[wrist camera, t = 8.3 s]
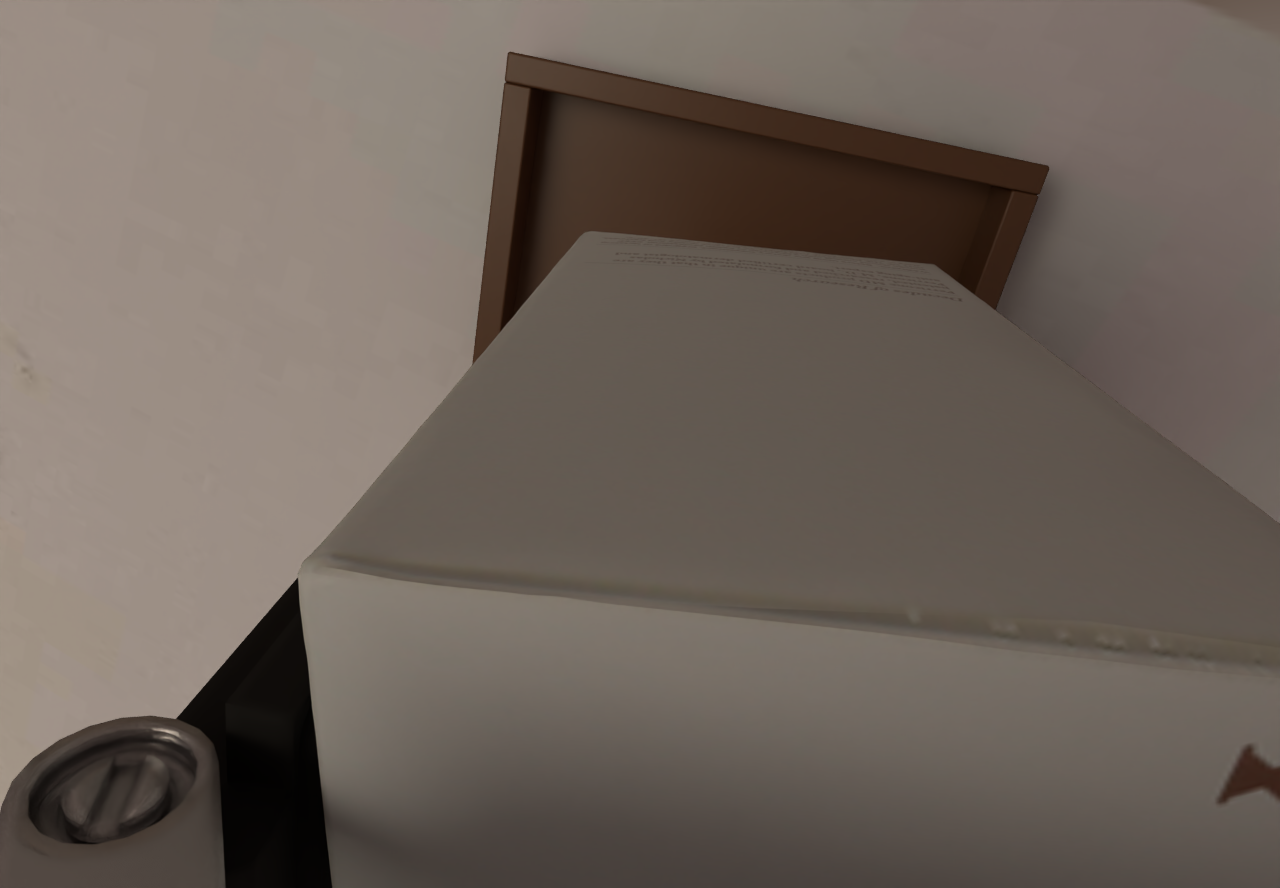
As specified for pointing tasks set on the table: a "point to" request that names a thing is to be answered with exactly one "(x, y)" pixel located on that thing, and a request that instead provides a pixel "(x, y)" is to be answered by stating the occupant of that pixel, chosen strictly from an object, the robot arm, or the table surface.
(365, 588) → the white packaging box
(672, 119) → the tray
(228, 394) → the table surface
